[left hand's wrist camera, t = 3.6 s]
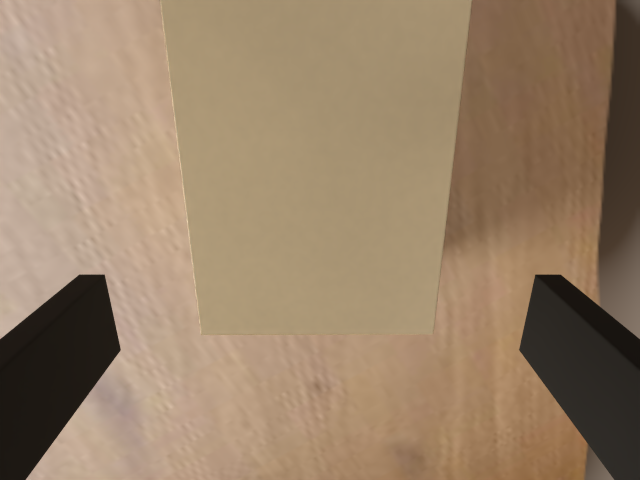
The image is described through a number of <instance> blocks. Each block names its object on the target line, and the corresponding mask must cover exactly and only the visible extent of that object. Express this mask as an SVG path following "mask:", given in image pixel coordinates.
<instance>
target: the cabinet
mask: <svg viewBox="0 0 640 480" xmlns="http://www.w3.org/2000/svg"><path fill="white" fill-rule="evenodd" d="M160 5H161V13H162V22H163V30H164V38H165V46H166V54H167V62H168V70H169V79H170V87H171V95H172V103H173V111H174V119H175V127H176V136H177V144H178V152H179V160H180V168H181V176H182V184H183V193H184V201H185V209H186V217H187V225H188V233H189V241H190V250H191V258H192V266H193V274H194V282H195V290H196V298H197V307H198V315H199V323H200V331H201V335H411V334H433V333H434V324H435V316H436V307H437V299H438V290H439V282H440V273H441V265H442V256H443V247H444V239H445V230H446V222H447V213H448V205H449V196H450V188H451V179H452V171H453V162H454V153H455V145H456V136H457V128H458V119H459V111H460V102H461V94H462V85H463V77H464V68H465V59H466V51H467V42H468V34H469V25H470V17H471V8H472V0H160Z"/></svg>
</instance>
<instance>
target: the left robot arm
mask: <svg viewBox="0 0 640 480" xmlns="http://www.w3.org/2000/svg"><path fill="white" fill-rule="evenodd" d="M120 350H121V349H120V344H119V340H118V335H117V330H116V326H115V321H114V316H113V312H112V307H111V302H110V298H109V293H108V288H107V284H106V279H105V275H78V276H77V277H76V278H75V279H74V280H72V281H71V282H70V283H69V284H67V285H66V286H65V287H64V288H63V289H61V290H60V291H59V292H58V293H56V294H55V295H54V296H53V297H51V298H50V299H49V300H48V301H47V302H45V303H44V304H43V305H42V306H40V307H39V308H38V309H37V310H36V311H34V312H33V313H32V314H31V315H29V316H28V317H27V318H26V319H25V320H23V321H22V322H21V323H20V324H18V325H17V326H16V327H15V328H14V329H12V330H11V331H10V332H9V333H7V334H6V335H5V336H4V337H2V338H1V339H0V480H26V478H27V477H28V476H29V474H30V473H31V472H32V470H33V469H34V467H35V466H36V465H37V463H38V462H39V461H40V459H41V458H42V457H43V455H44V454H45V453H46V451H47V450H48V448H49V447H50V446H51V444H52V443H53V442H54V440H55V439H56V438H57V436H58V435H59V433H60V432H61V431H62V429H63V428H64V427H65V425H66V424H67V423H68V421H69V420H70V418H71V417H72V416H73V414H74V413H75V412H76V410H77V409H78V408H79V406H80V405H81V403H82V402H83V401H84V399H85V398H86V397H87V395H88V394H89V393H90V391H91V390H92V388H93V387H94V386H95V384H96V383H97V382H98V380H99V379H100V378H101V376H102V375H103V373H104V372H105V371H106V369H107V368H108V367H109V365H110V364H111V363H112V361H113V360H114V358H115V357H116V356H117V354H118V353H119V352H120ZM519 350H520V352H521V353H522V354H523V356H524V357H525V358H526V360H527V361H528V363H529V364H530V365H531V367H532V368H533V369H534V371H535V372H536V373H537V375H538V376H539V378H540V379H541V380H542V382H543V383H544V384H545V386H546V387H547V388H548V390H549V391H550V393H551V394H552V395H553V397H554V398H555V399H556V401H557V402H558V403H559V405H560V406H561V408H562V409H563V410H564V412H565V413H566V414H567V416H568V417H569V418H570V420H571V421H572V423H573V424H574V425H575V427H576V428H577V429H578V431H579V432H580V433H581V435H582V436H583V438H584V439H585V440H586V442H587V443H588V444H589V446H590V447H591V448H592V450H593V451H594V452H595V454H596V455H597V457H598V458H599V459H600V461H601V462H602V463H603V465H604V466H605V467H606V469H607V470H608V472H609V473H610V474H611V476H612V477H613V478H614V480H640V339H639V338H637V337H636V336H635V335H634V334H633V333H631V332H630V331H629V330H628V329H626V328H625V327H624V326H623V325H622V324H620V323H619V322H618V321H617V320H615V319H614V318H613V317H612V316H611V315H609V314H608V313H607V312H606V311H604V310H603V309H602V308H601V307H600V306H598V305H597V304H596V303H595V302H593V301H592V300H591V299H590V298H589V297H587V296H586V295H585V294H584V293H582V292H581V291H580V290H579V289H577V288H576V287H575V286H574V285H573V284H571V283H570V282H569V281H568V280H566V279H565V278H564V277H563V276H562V275H535V279H534V284H533V288H532V293H531V298H530V302H529V307H528V312H527V316H526V321H525V326H524V330H523V335H522V340H521V344H520V349H519Z"/></svg>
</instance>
